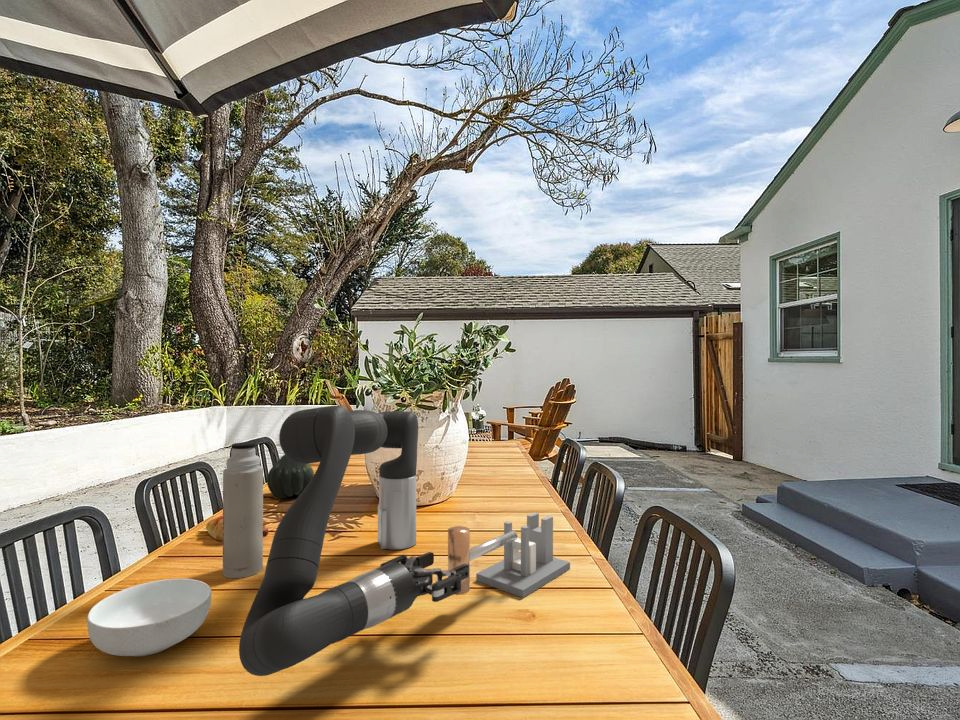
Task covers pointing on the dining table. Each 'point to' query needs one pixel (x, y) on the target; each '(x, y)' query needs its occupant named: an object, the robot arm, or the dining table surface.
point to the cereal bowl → (149, 616)
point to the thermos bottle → (242, 512)
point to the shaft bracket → (526, 560)
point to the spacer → (515, 556)
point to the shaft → (470, 550)
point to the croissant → (216, 528)
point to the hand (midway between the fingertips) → (449, 563)
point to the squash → (288, 477)
